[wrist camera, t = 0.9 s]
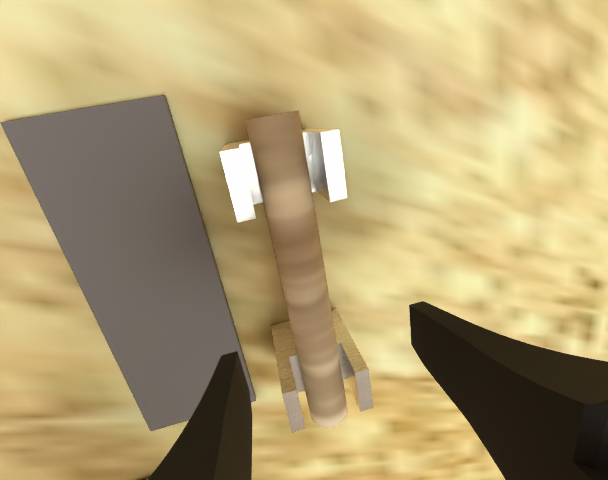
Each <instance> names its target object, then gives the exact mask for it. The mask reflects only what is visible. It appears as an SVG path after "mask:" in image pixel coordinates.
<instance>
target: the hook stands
mask: <svg viewBox="0 0 608 480" xmlns="http://www.w3.org/2000/svg"><path fill="white" fill-rule="evenodd" d="M302 133H303V139H304V146H305V152H306V158H307V164H308V170H309V176H310V182H311V188H312V192H314V191H317V192H319V193H320V194H321V195H322V196H324V197H325V198H326V199H327V200H329V201H330V202H333V201H338V200H342V199H347V190H346V182H345V174H344V166H343V157H342V149H341V141H340V133H339V129H302ZM220 156H221V160H222V164H223V167H224V171H225V175H226V179H227V183H228V187H229V191H230V194H231V198H232V202H233V206H234V210H235V214H236V218H237V221H238V222H242V221H247V220H251V219H256V216H255V211H254V206H253V204H258V203H263V199H262V194H261V190H260V185H259V181H258V176H257V172H256V167H255V163H254V158H253V154H252V149H251V145H250V140H244V141H239V142H234V143H228V144H225V145H224V147H223V148H222V149H221V151H220ZM331 311H332V317H333V323H334V329H335V335H336V341H337V348H338V354H339V360H340V366H341V372H342V378H343V379H347V381H348V383H349V386H350V388H351V390H352V393H353V395H354V397H355V400H356V402H357V404H358V407H359V409H360V411H364V410H367V409H371V408H373V401H372V393H371V385H370V377H369V369H368V367H367V365H366V363H365V362H364V360H363V358H362V356H361V354H360V352H359V350H358V349H357V347H356V345H355V343H354V341H353V339H352V338H351V336H350V334H349V332H348V330H347V328H346V326H345V325H344V323H343V321H342V319H341V317H340V315H339V313H338V312H337V310H336V309H332V310H331ZM271 329H272V335H273V341H274V347H275V353H276V359H277V365H278V371H279V378H280V384H281V390H282V395H283V399H284V403H285V407H286V411H287V414H288V418H289V422H290V426H291V430H292V432H296V431H299V430H302V429H305V424H304V419H303V415H302V410H301V406H300V402H299V397H298V392H302V391H305V387H304V383H303V378H302V374H301V369H300V365H299V360H298V356H297V351H296V347H295V342H294V338H293V333H292V329H291V324H290V321H286V322H282V323H279V324H275V325H271Z"/></svg>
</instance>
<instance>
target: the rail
mask: <svg viewBox="0 0 608 480" xmlns="http://www.w3.org/2000/svg"><path fill="white" fill-rule="evenodd" d="M245 122H246V127H247V131H248V136H249V140H250V145H251V149H252V154H253V158H254V163H255V167H256V172H257V176H258V181H259V185H260V190H261V194H262V199H263V203H264V208H265V212H266V217H267V221H268V226H269V230H270V235H271V239H272V244H273V248H274V252H275V257H276V261H277V266H278V270H279V275H280V279H281V284H282V288H283V293H284V297H285V302H286V306H287V311H288V315H289V320H290V324H291V329H292V333H293V338H294V342H295V347H296V351H297V356H298V360H299V365H300V369H301V374H302V378H303V383H304V387H305V392H306V396H307V401H308V405H309V410H310V414H311V418H312V420H313V422H314V423H315V424H316V425H318V426H319V427H322V428H334V427H337V426H339V425H340V424H341V423H343V421H344V420H345V419H346V417H347V413H348V409H347V403H346V397H345V390H344V384H343V378H342V372H341V366H340V360H339V354H338V348H337V341H336V335H335V329H334V323H333V317H332V311H331V305H330V299H329V292H328V286H327V280H326V274H325V268H324V262H323V256H322V250H321V244H320V237H319V231H318V225H317V219H316V213H315V207H314V201H313V195H312V188H311V182H310V176H309V170H308V164H307V158H306V152H305V146H304V139H303V133H302V127H301V121H300V115H299V111H293V112H287V113H281V114H275V115H270V116H265V117H259V118H254V119H249V120H245Z"/></svg>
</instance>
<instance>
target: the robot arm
mask: <svg viewBox="0 0 608 480" xmlns="http://www.w3.org/2000/svg"><path fill="white" fill-rule="evenodd" d="M409 308H410V326H411V344H412V346H413V348H414V349H415V351H416V353H417V355H418V356H419V358H420V359H421V361H422V363H423V364H424V366H425V367H426V368H427V370H428V371H429V372H430V374H431V375H432V376H433V377H434V379H435V380H436V381H437V382H438V384H439V385H440V386H441V387H442V389H443V390H444V391H445V392H446V394H447V395H448V396H449V397H450V399H451V400H452V401H453V402H454V404H455V405H456V406H457V407H458V409H459V410H460V411H461V412H462V414H463V415H464V416H465V418H466V419H467V420H468V422H469V423H470V425H471V426H472V428H473V429H474V431H475V432H476V434H477V435H478V437H479V438H480V440H481V441H482V443H483V444H484V446H485V447H486V449H487V451H488V452H489V454H490V455H491V457H492V458H493V460H494V462H495V463H496V465H497V466H498V468H499V470H500V471H501V473H502V474H503V476H504V478H505V479H506V480H608V362H606V361H600V360H595V359H589V358H584V357H579V356H574V355H570V354H565V353H561V352H557V351H553V350H549V349H545V348H541V347H537V346H534V345H530V344H527V343H524V342H521V341H518V340H515V339H511V338H508V337H506V336H503V335H500V334H497V333H495V332H492V331H490V330H487V329H484V328H482V327H480V326H477V325H475V324H472V323H470V322H468V321H466V320H463V319H461V318H459V317H457V316H454V315H452V314H450V313H448V312H446V311H444V310H441V309H439V308H437V307H435V306H433V305H431V304H428V303H426V302H423V301H422V302H418V303H415V304H411V305H409ZM251 468H252V409H251V399H250V390H249V387H248V384H247V380H246V377H245V374H244V371H243V367H242V364H241V361H240V358H239V354H238V351H236V352H232V353H228V354H225V355H222V356H221V357H220V359H219V361H218V364H217V366H216V368H215V371H214V373H213V375H212V377H211V380H210V382H209V384H208V386H207V388H206V390H205V392H204V394H203V396H202V398H201V400H200V402H199V404H198V406H197V407H196V409H195V411H194V413H193V415H192V416H191V418H190V420H189V422H188V423H187V425H186V427H185V428H184V430H183V432H182V433H181V435H180V436H179V438H178V439H177V441H176V442H175V444H174V445H173V447H172V448H171V450H170V451H169V453H168V454H167V455H166V457H165V458H164V459H163V461H162V462H161V464H160V465H159V466H158V467H157V469H156V470H155V471H154V473H153V474H152V475H151V477H150V478H149V479H146V480H251Z"/></svg>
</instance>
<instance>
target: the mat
mask: <svg viewBox="0 0 608 480" xmlns="http://www.w3.org/2000/svg"><path fill="white" fill-rule="evenodd" d="M0 123H1V125H2V127H3V129H4V131H5V134H6V136H7V138H8V140H9V142H10V144H11V146H12V148H13V150H14V152H15V154H16V156H17V158H18V160H19V162H20V164H21V166H22V168H23V170H24V172H25V175H26V177H27V179H28V181H29V183H30V185H31V187H32V189H33V191H34V193H35V195H36V197H37V199H38V201H39V203H40V205H41V207H42V209H43V211H44V214H45V216H46V218H47V220H48V222H49V224H50V226H51V228H52V230H53V232H54V234H55V236H56V238H57V240H58V242H59V244H60V246H61V248H62V250H63V253H64V255H65V257H66V259H67V261H68V263H69V265H70V267H71V269H72V271H73V273H74V275H75V277H76V279H77V281H78V283H79V285H80V287H81V289H82V291H83V294H84V296H85V298H86V300H87V302H88V304H89V306H90V308H91V310H92V312H93V314H94V316H95V318H96V320H97V322H98V324H99V326H100V328H101V330H102V333H103V335H104V337H105V339H106V341H107V343H108V345H109V347H110V349H111V351H112V353H113V355H114V357H115V359H116V361H117V363H118V365H119V367H120V369H121V371H122V374H123V376H124V378H125V380H126V382H127V384H128V386H129V388H130V390H131V392H132V394H133V396H134V398H135V400H136V402H137V404H138V406H139V408H140V410H141V413H142V415H143V417H144V419H145V421H146V423H147V425H148V427H149V429H150V431H153V430H156V429H160V428H163V427H167V426H170V425H174V424H177V423H181V422H184V421H187V420H190V418H191V416H192V415H193V413H194V411H195V409H196V407H197V406H198V404H199V402H200V400H201V398H202V396H203V394H204V392H205V390H206V388H207V386H208V384H209V382H210V380H211V377H212V375H213V373H214V371H215V368H216V366H217V364H218V361H219V359H220V357H221V356H222V355H225V354H228V353H232V352H236V351H238V354H239V358H240V361H241V364H242V367H243V371H244V374H245V377H246V380H247V384H248V387H249V390H250V399H251V402H253V401H256V395H255V392H254V389H253V385H252V382H251V379H250V376H249V372H248V369H247V366H246V362H245V359H244V356H243V352H242V349H241V346H240V342H239V339H238V336H237V332H236V329H235V326H234V322H233V319H232V316H231V312H230V309H229V306H228V302H227V299H226V296H225V292H224V289H223V286H222V282H221V279H220V276H219V272H218V269H217V266H216V262H215V259H214V256H213V252H212V249H211V246H210V242H209V239H208V236H207V232H206V229H205V226H204V222H203V219H202V216H201V213H200V209H199V206H198V203H197V199H196V196H195V193H194V189H193V186H192V183H191V179H190V176H189V173H188V169H187V166H186V163H185V159H184V156H183V153H182V149H181V146H180V143H179V139H178V136H177V133H176V129H175V126H174V123H173V119H172V116H171V113H170V109H169V106H168V103H167V99H166V96H164V95H162V96H156V97H150V98H144V99H138V100H132V101H126V102H120V103H114V104H108V105H102V106H96V107H90V108H84V109H78V110H72V111H66V112H60V113H54V114H48V115H42V116H36V117H29V118H23V119H17V120H11V121H5V122H0Z"/></svg>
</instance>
